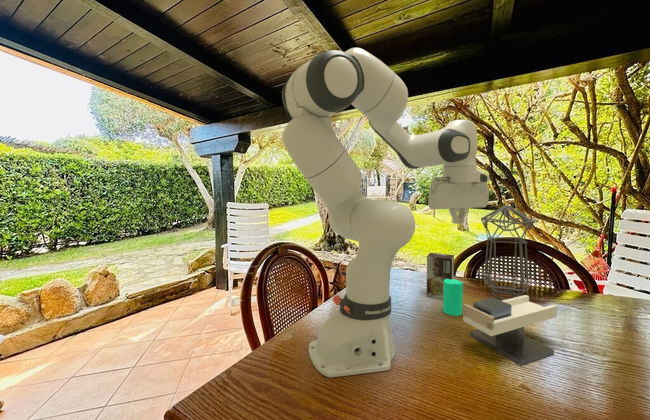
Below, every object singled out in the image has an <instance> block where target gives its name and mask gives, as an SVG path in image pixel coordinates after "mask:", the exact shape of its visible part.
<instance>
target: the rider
mask: <svg viewBox="0 0 650 420" xmlns="http://www.w3.org/2000/svg"><path fill="white" fill-rule="evenodd" d="M472 304H473V305H472V307H474V308H476V309H478V310H480V311H482V312H484V313H486V314H488V315H490V316H493V317H494V320H498V319H501V318H505V317H509V316H511V307H512V305H511V304H508V303H506V302H503V301H502V300H501V299H499V298H496V297H494V296H493V297H488V298H485V299H484V298H483V299H481V300H480V299H479V300H476V301H473V302H472Z"/></svg>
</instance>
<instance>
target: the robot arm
mask: <svg viewBox="0 0 650 420" xmlns="http://www.w3.org/2000/svg"><path fill="white" fill-rule="evenodd" d="M281 97H282V103H283V106H284V109H285V114H286V119H287V121H288V123H287V124H286V126H285V127H284V130H283V132H282V137H281V138H282V143H283V144H284V147H285V149H286V151H287V153H288V155H289V157H290V158H291V160H292V161H293V163H294V165H295V167H296V168H297V169H298V171H299V172H300V174H301V175H302V176H303V177H304V179H305V180H306V181H307V183H308V184H309V185H310V186H311V188H312V189H313V190H314V191H315V192H316V194H317V195H318V197H320V199H321V200H322V202H323V204H324V205H325V207H326V210H327V211H328V224H329V226H330V229H331V230H332V231H333V232H334V233H336V234H337V235H339V236H341V237H342V238H344V239H346V240H349V241H354V242H358V249H357V253H356V256H355V258H353V259H351V260H350V261H348V263H347V264H346V268H345V286H346V287H345V291H346V292H345V293H344V296H343V298H342V297H340V295H336V294H335V295H334V296H333V298H332V300H333V302H334V304H335V305H337V306H339V309H338V310H337V311H336V312H335V313H333V314H332V316H330V317H329V318H327V319H326V320H325V321H324V322H323V323H322V324H321V325H320V327H319V328H318V332H317V338H316V339H315V340H312V341H310V343H309V345H308V356H309V359H310V361H311V363H312V365H313V367H315V369H316V371H318V372H319V373H320V374H321V375H323V376H325V377H326V378H335V377H336V378H337V377H345V376H354V375H360V374H361V375H362V374H368V373H369V374H370V373H371V374H372V373H378V372H385V371H389V370H390V369H391V367H392V361H393V360H394V358H395V356H396V353H397V352H396V351H397V350H396V346H395V343H394V338H393V333H392V327H391V326H392V325H391V313H392V297H391V295H390V286H391V285H390V284H391V283H390V282H391V269H392V264H393V262H394V259H395V257H396V255H397V253H398V252H399V251H400V250H401V249H402V248H403V247H405V246H406V245H407V244H409V242H410V241H411V240H412V238H413V236H414V234H415V230H416V221H415V219H416V218H415V215H414V213H413V211H412V210H411V209H410V208H409V207H408V206H407V205H404V204H402V203H398V202H395V201H392V200H385V199H384V200H382V199H381V200H379V199H377V200H376V199H369V198H367V197H366V196H364V195H363V193H362V191H361V189H360V187H361V184H362V181H363V175H362V172H361V170H360V168H359V167H358V166H357V164H356V163H355V161H354V159H353V158H352V157H351V155H350V154H349V152H348V151H347V149H346V148H345V147H344V145H343V143H342V141H340V139H339V138H338V137H337V135H336V133H335V130H334V127H333V124H332V115H334V114H336V113H339V112H342V111H345V109H346V108H348V107H350V105H352V106H353V107H354V108H355V109H356V110H357V111H359V112H360V113H361V114H362V115H363V116H365V117H366V118H367V119H368V124H369V125H370V127H371V129H372V130H373V131H374V132H375V134H377V136H379V137H380V138H381V139H382V140H383V141H384V142H385V143H386V144H387V145H388V146H389V147H390V148H391V149H392V150H393V151H394V152H395V153H396V154H397V156H398V157H399V159H400V161H401V163H402V164H403V165H404V166H405V167H406V168H407V169H409V170H410V169H411V170H414V169H415V170H416V169H420V168H421V169H422V168H424V167H425V168H427V167H434V166H435V167H436V166H442V165H443V169H442V170H443V171H442V172H443V173H442V175H443V176H442V177H440V176H435V177H434V178H433V179H432V180H431V182H430V188H429V193H428V201H427V203H428V204H427V205H428V208H429V209H431V210H448V212H449V214H450V216H451V222H452V224H456V225H457V224H464V223H465V217H466V216H467V214H468V211H469V209H474V208H475V209H476V208H486V207H487V206H488V204H489V199H490V192H489V191H490V189H489V188H490V187H489V185H488V183H489V182H490V176H489V175H488V174H486V173H484V172H481V171H480V170H477V168H478V166H477V165H478V164H477V161H476V156H477V153H478V133H477V127H476V124H475V122H473V121H471V120H469V119H461V118H460V119H454V120H451V121H449V122H447V124H446V126H445V127H442V128H439V129H438V130H434V131H430V132H429V131H428V132H427V133H421V134H410V133H408V131H406V130H405V129H404V127H403V126H401V124H400V123H399V122H398V121H399V120H400V119H401V117H402V116H403V114H404V112H405V111H406V108H407V105H408V100H409V91H408V87H407V86H406V84H405V82H404V81H403V80H402V79H401V77H400V76H399V75H397V74H396V73H395V71H393V70H392V69H391V68H390V66H388V65H387V64H385V63H384V62H383V61H382V60H381V59H379V58H378V57H376V56H374V55H373V54H372V53H370V52H369V51H367V50H365V49H363V48H361V47H351V48H349V49H347V50H346V51H342V50H339V49H338V50H337V49H336V50H335V49H330V50H326V51H323V52H320V53H318V54H317V55H315V56H314V57H312V59H310V60H309V61H307V62H304V63H302V64H301V65H299V67H298V68H297V69H295V71H294V72H293V73H292V74H291V75H290V76H289V77H288V78H287V79H286V81H285V83H284V85H283V87H282V93H281Z"/></svg>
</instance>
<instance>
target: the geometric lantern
mask: <svg viewBox="0 0 650 420" xmlns="http://www.w3.org/2000/svg"><path fill="white" fill-rule="evenodd" d="M511 212H512V213H513V214H514V215H515V216H516V217H514V218H513V216H512V214H511ZM499 215H500V217H499V219H498V216H499ZM506 216H507V217H506ZM506 218H507V219H506ZM520 220H522V221H520ZM480 221H481V222H482V225H483V227H484V229H485V232H486V237H487V239H486V249H485V250H486V251H485V252H486V253H485V263H484V264H485V265H484V273H483V280H484V282H485V284H486V286H487V287H488V288H490V292H491V293H492V294H493V297H494V298H495V299H498V300H507V299H509V298H507V297H501V294H506V295H515V296H516V297H519V296H522V295H523V294H524V293H526V292H528V291H529V290H530V278H529V265H528V248H527V247H528V246H527V245H528V243H529V242H528V241H526V236H527V231H531V229H532V226H533V225H534V224H535V223H536V224H537V223H538V221H537V220H536V219H534V218H532V217H531V216H529V215H527V214H525V213H524V212H522V211H520V210H518V209H517V208H514V207H513V206H512V205H503V206H501V207H499V208H497V209H495V210H494V211H492V212H490V213H488V214H486V215H483V217H482V216H481V218H480ZM489 223H491V224H493V225H495V226H497V228H496V229H495V231H494V233H493V235H491V232H490V230H489V228H488V224H489ZM497 223H499V224H497ZM501 224H502V225H501ZM506 224H507V225H506ZM517 224H522V225H519V226H517V227H515V226H516V225H517ZM512 225H513V228H511V229H509V227H510V226H512ZM523 227H524V228H525V229H524V232H523V233H522V235H521V236H520V235H519V233H518V231H517V230H519V229H520V228H523ZM499 229H500V230H502V231H501V232H500V233H498V235H496V234H497V232H498V230H499ZM504 231H505V232H509V233H510V234H511V235H512V237H500V235H501V234H502V233H503V232H504ZM512 231H514V232H515V234H516V236H517V237H518V238H517V237H515V235H514V234H513V232H512ZM495 235H496V236H495ZM499 237H500V239H502V240H503V239H506V240H514V241H501V240H498V241H497V239H499ZM489 242H490V246H489ZM496 243H507V244H514V264H513V265H514V266H513V278H512V279H511V278H510V279H509V278H502V277H501V278H499V277H496V276H497V273H496V272H497V271H496V269H497V268H496V267H497V266H496V265H497V263H496V260H497V259H496V254H497V253H496V251H497V250H496V248H497V244H496ZM523 244H524V250H523ZM517 245H518V247H519V248H518V249H519V269H520V280H519V279H516V277H517V275H516V273H517V272H516V271H517V270H516V269H517ZM492 251H493V253H492ZM523 251H524V252H523ZM488 252H489V253H488ZM488 254H489V257H488ZM492 254H493V277H490V276H491V265H492ZM523 254H524V255H525V267H524V255H523ZM487 264H488V265H487ZM487 266H488V267H487ZM525 274H526V283H525ZM486 275H487V277H486ZM491 280H493V283H492V281H491ZM497 280H499V281H512V282H513V283H512V285H511V286H501V285H500V286H499V285H496V284H497ZM515 282H517V283H519V284H518V285H515ZM514 285H515V287H514ZM521 285H522V289H518V287H519V286H521ZM498 289H500V290H498ZM494 292H495V293H494Z"/></svg>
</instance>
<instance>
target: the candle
mask: <svg viewBox="0 0 650 420" xmlns="http://www.w3.org/2000/svg"><path fill="white" fill-rule="evenodd" d="M454 277H455V276H454ZM454 277H453V279H445V280H444V290H443V299H442V301H443V303H442V311H443V312H444V314H446V315H449V316H453V317H460V316H463V302H464V301H463V300H464V299H463V295H464V294H463V293H464V291H463V290H464V281H460V280H458V279H456V278H454Z"/></svg>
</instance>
